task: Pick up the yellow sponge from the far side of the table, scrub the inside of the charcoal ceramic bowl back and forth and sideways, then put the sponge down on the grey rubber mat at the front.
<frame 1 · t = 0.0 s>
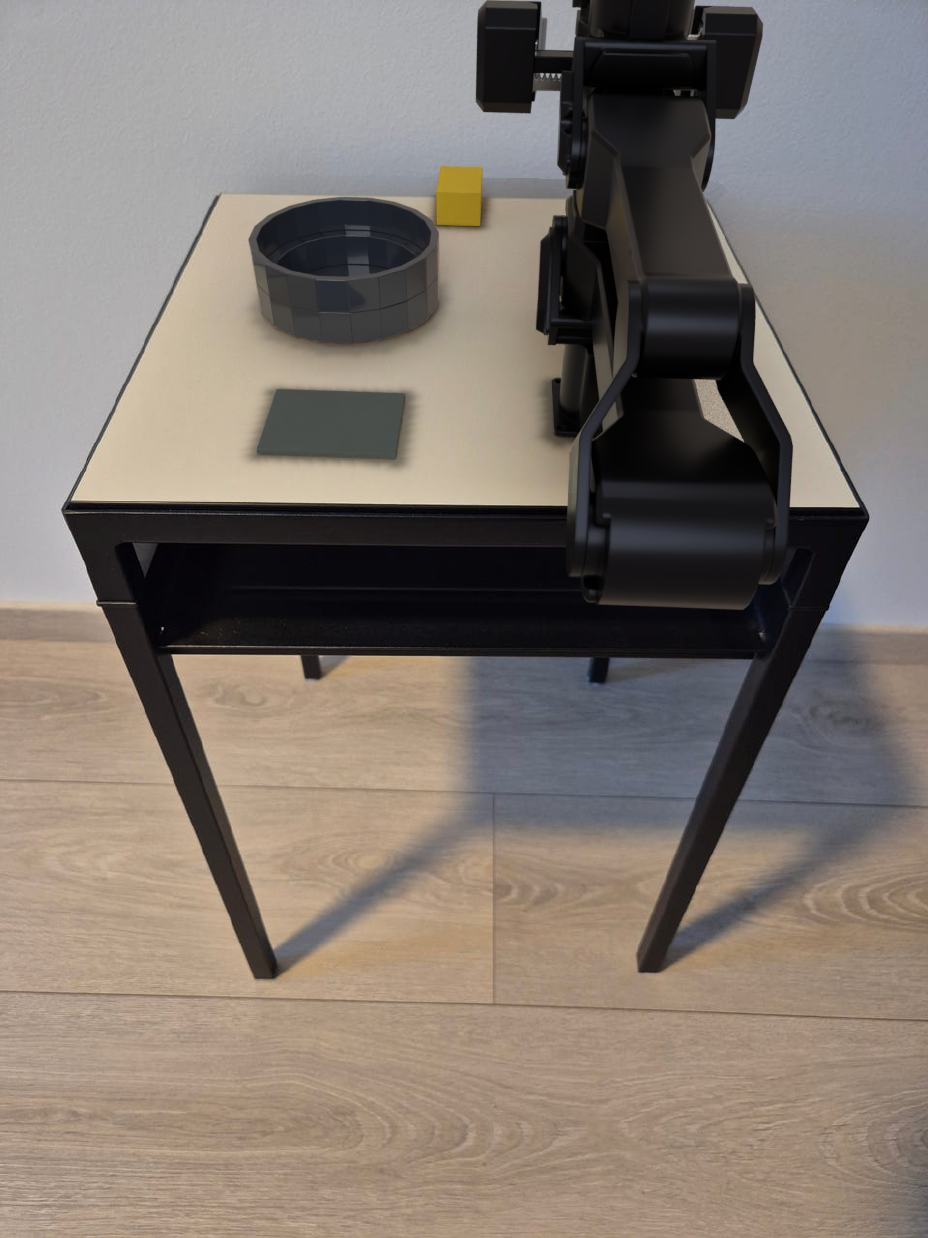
hand: (605, 27, 64), 17 cm above the table, tool horizontal, fingers open, 9 cm apart
bowl: (350, 303, 69), on the table
mat: (334, 424, 58), on the table
sponge: (459, 212, 81), on the table
white cup: (644, 238, 78), on the table
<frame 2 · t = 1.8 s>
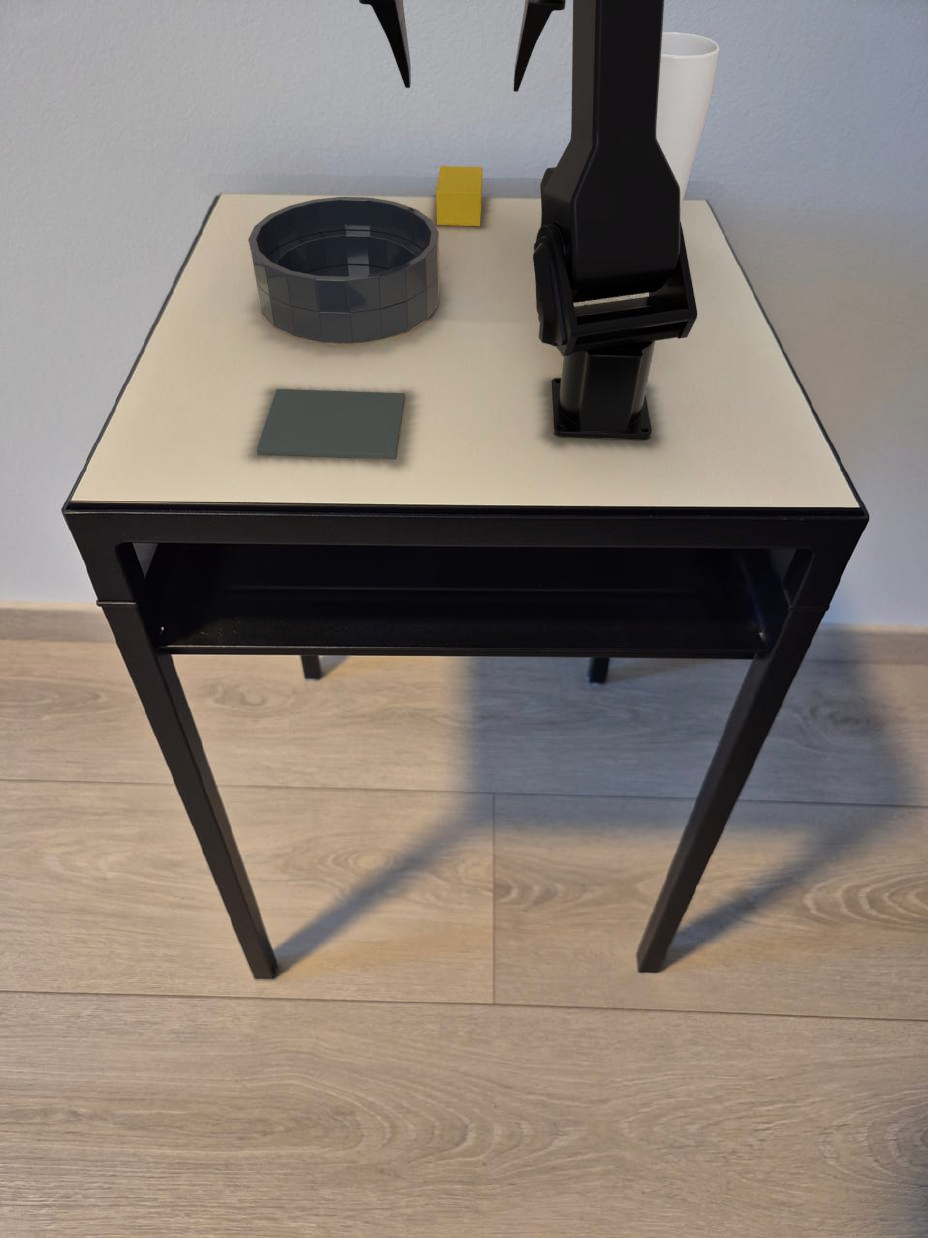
hand: (461, 88, 74), 10 cm above the table, tool pointing down, fingers open, 9 cm apart
nothing on the table moved.
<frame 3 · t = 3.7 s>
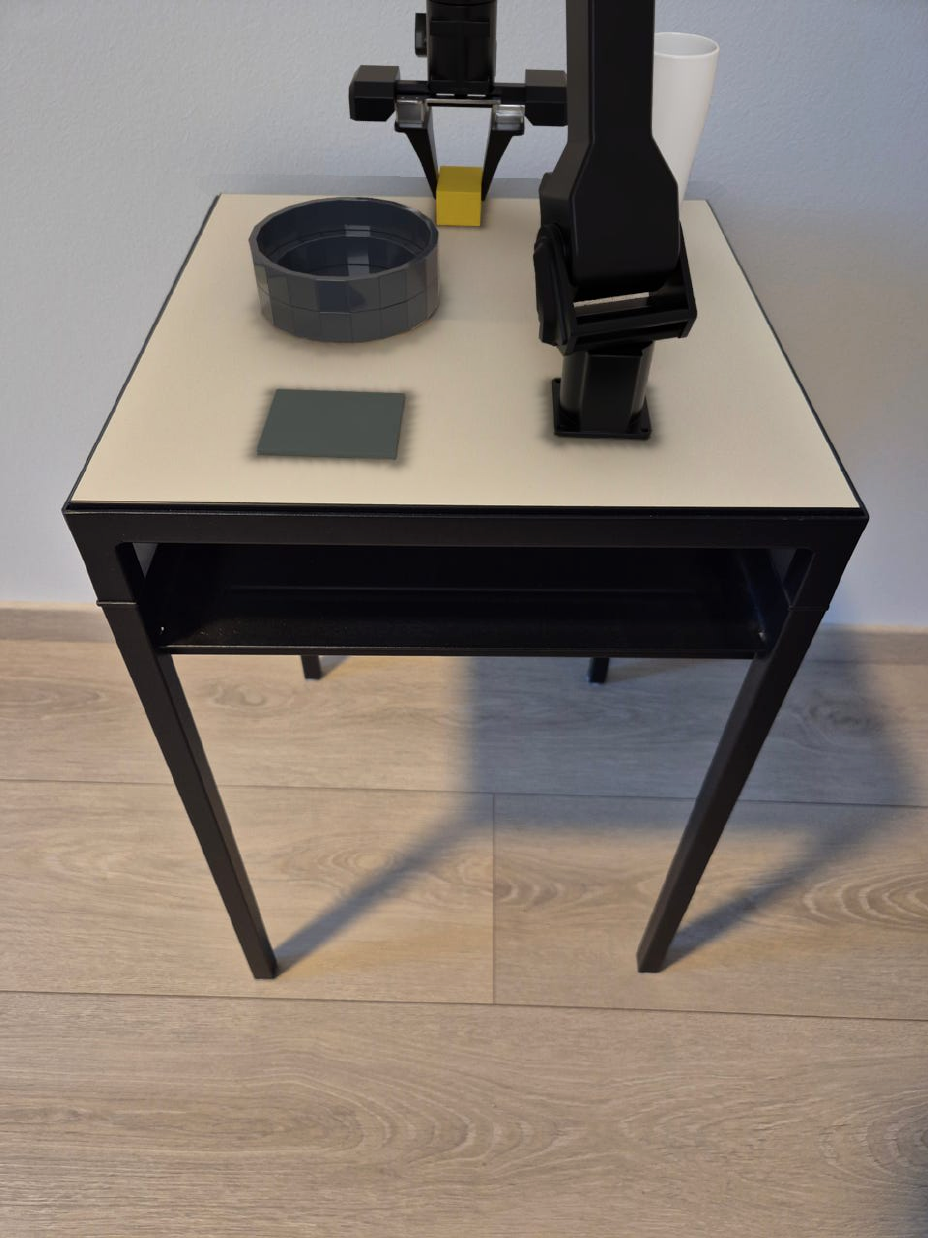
hand: (460, 198, 80), 1 cm above the table, tool pointing down, fingers closed on sponge, 4 cm apart
sponge: (459, 211, 81), on the table, touching gripper
everything else where it was.
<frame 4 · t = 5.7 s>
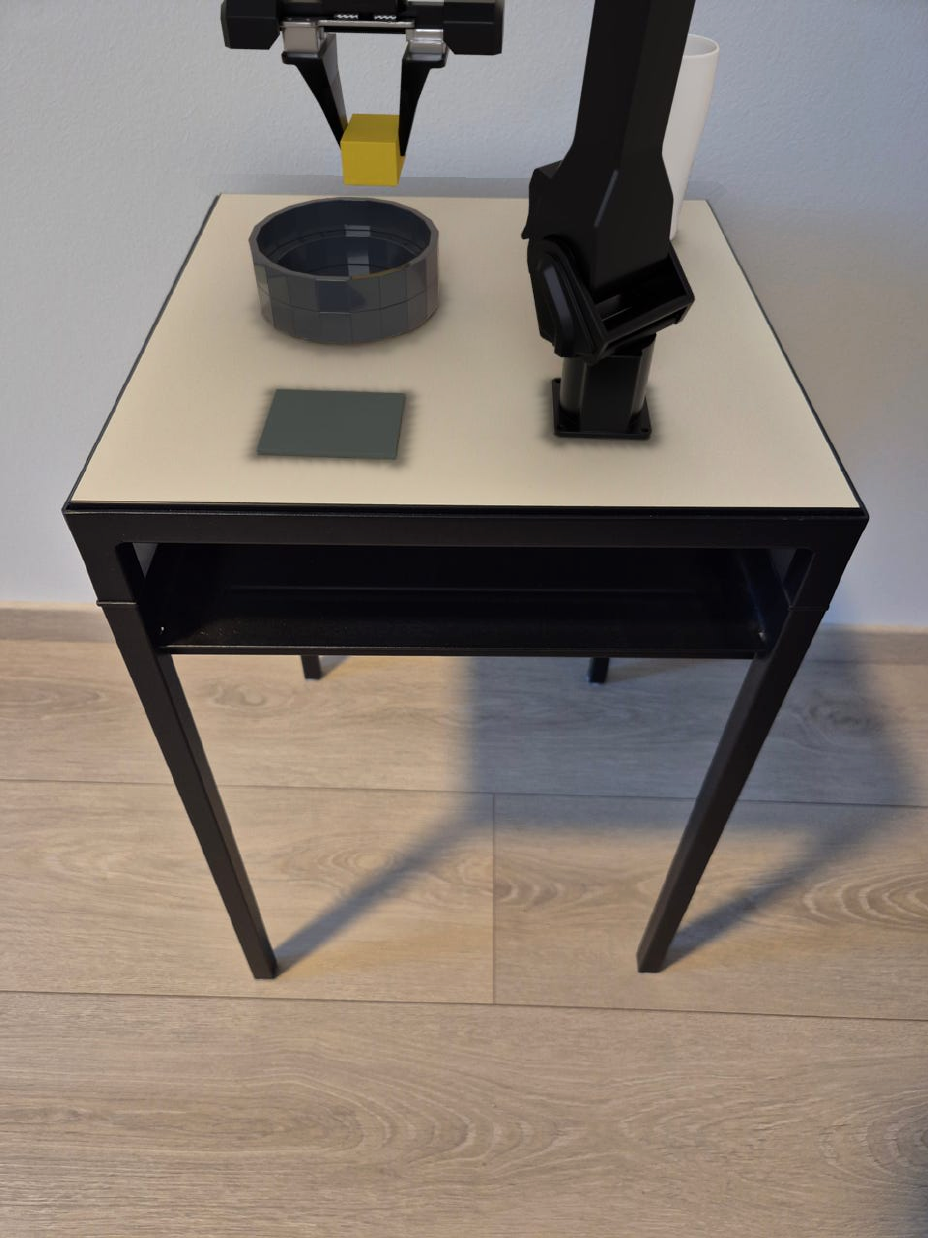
hand: (374, 153, 65), 10 cm above the table, tool pointing down, fingers closed on sponge, 4 cm apart
sponge: (375, 170, 66), point 9 cm above the table, touching gripper
everything else where it was.
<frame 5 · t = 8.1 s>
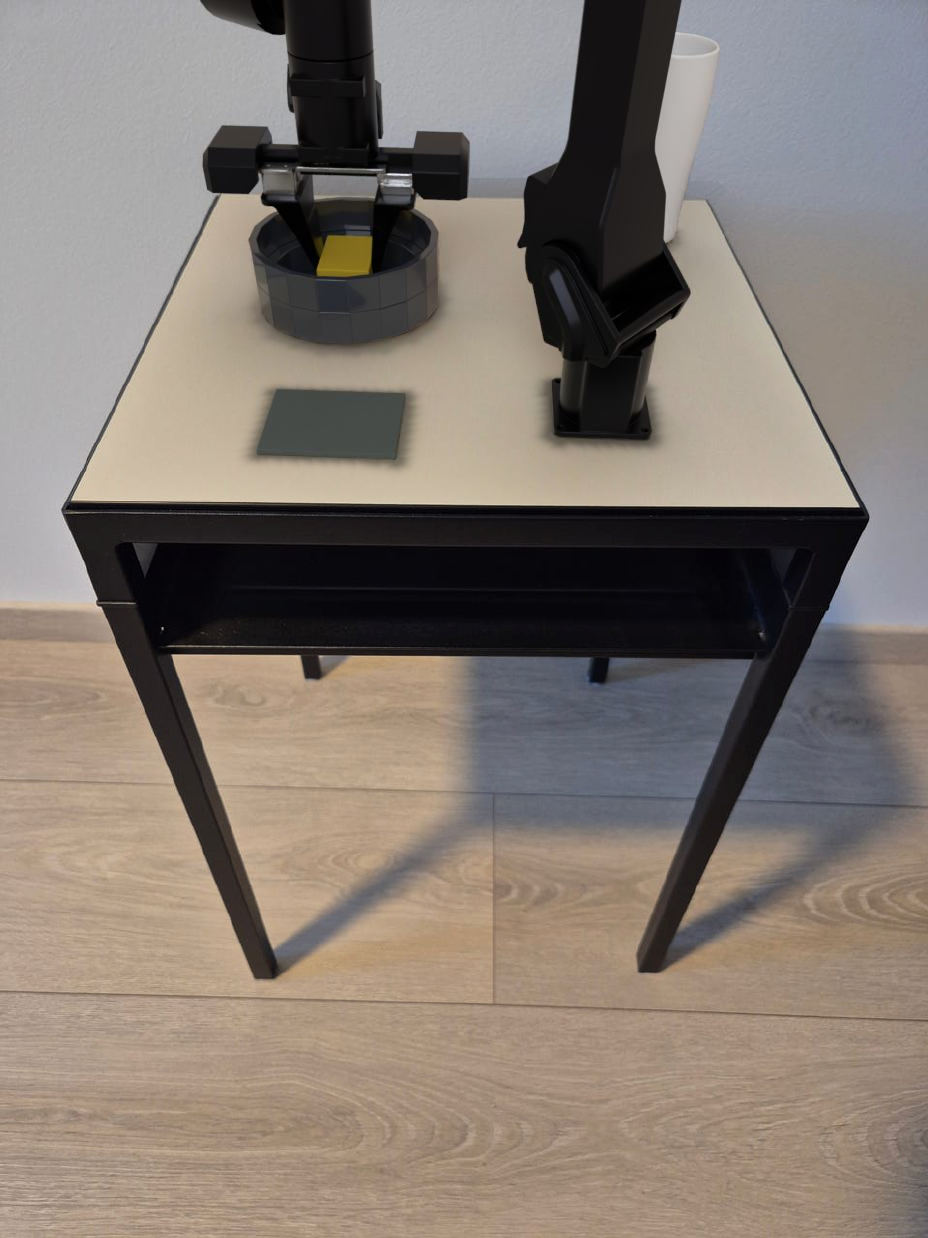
hand: (349, 276, 69), 2 cm above the table, tool pointing down, fingers closed on sponge, 4 cm apart
sponge: (350, 288, 70), point 1 cm above the table, touching bowl, gripper
everything else where it was.
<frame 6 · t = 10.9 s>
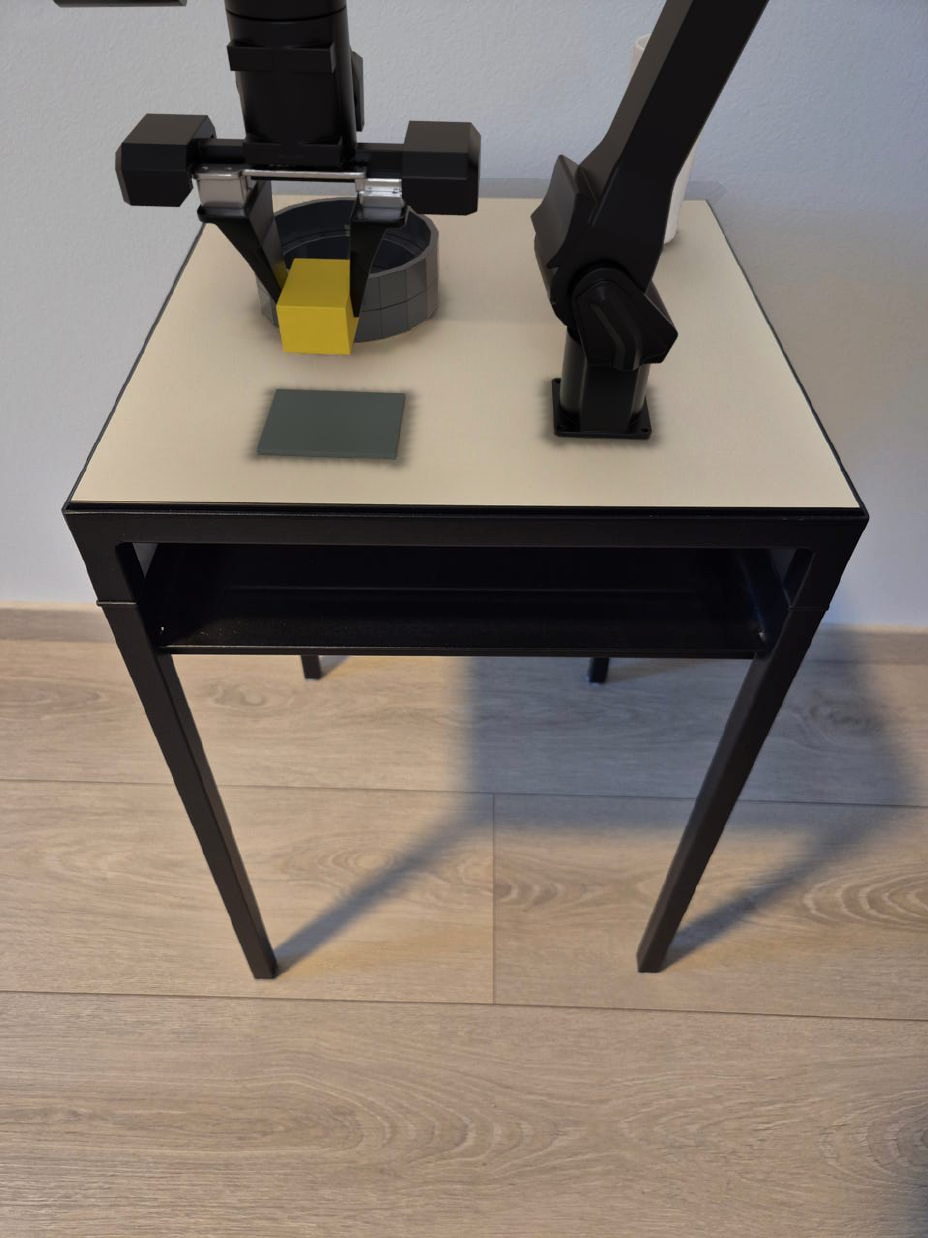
hand: (322, 312, 52), 8 cm above the table, tool pointing down, fingers closed on sponge, 4 cm apart
sponge: (324, 328, 53), point 7 cm above the table, touching gripper
everything else where it was.
when the fingers open (1 cm above the table, at t = 12.8 s): sponge stays where it is, resting on mat.
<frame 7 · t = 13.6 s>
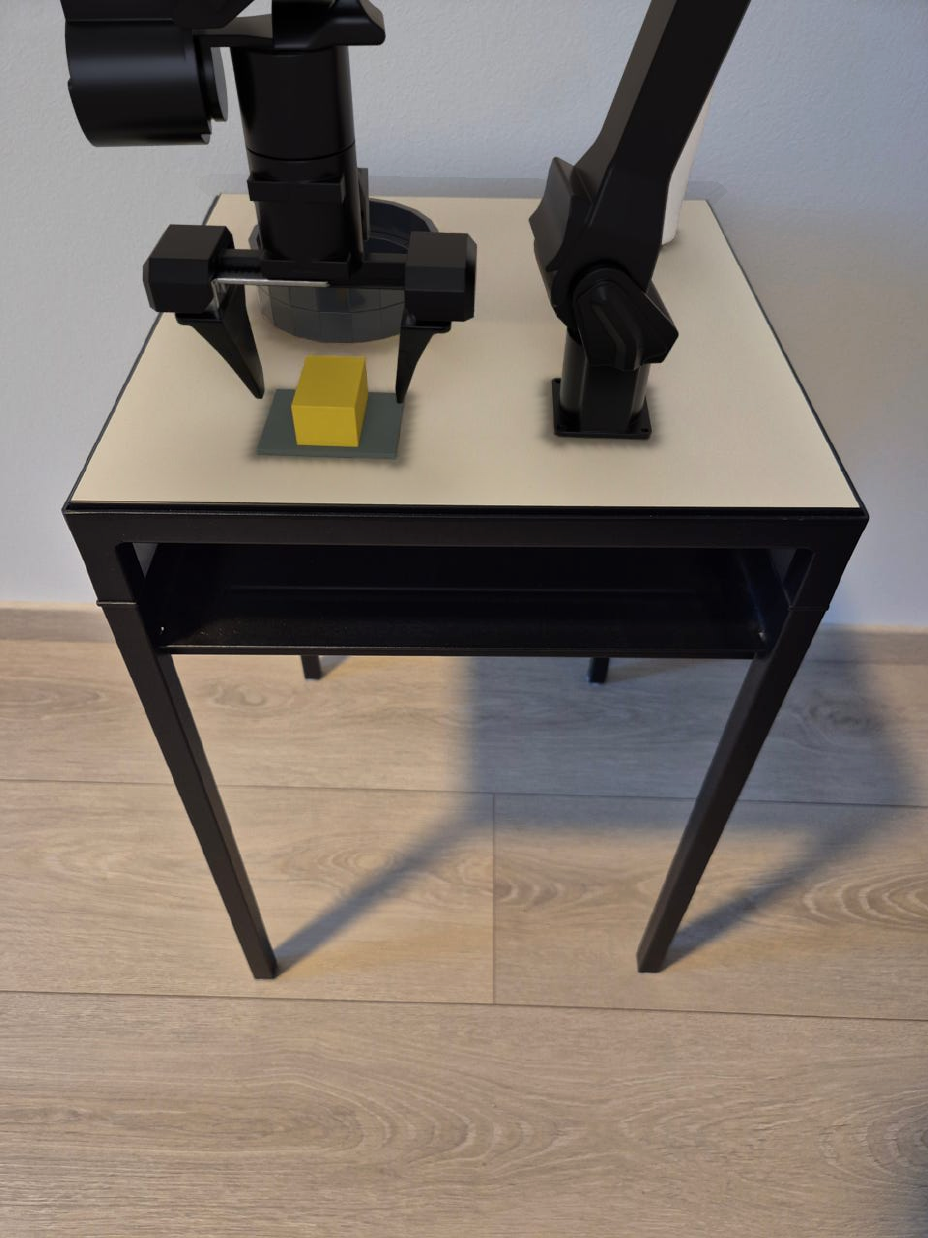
hand: (330, 397, 57), 2 cm above the table, tool pointing down, fingers open, 9 cm apart
sponge: (334, 419, 58), resting on mat
everything else where it was.
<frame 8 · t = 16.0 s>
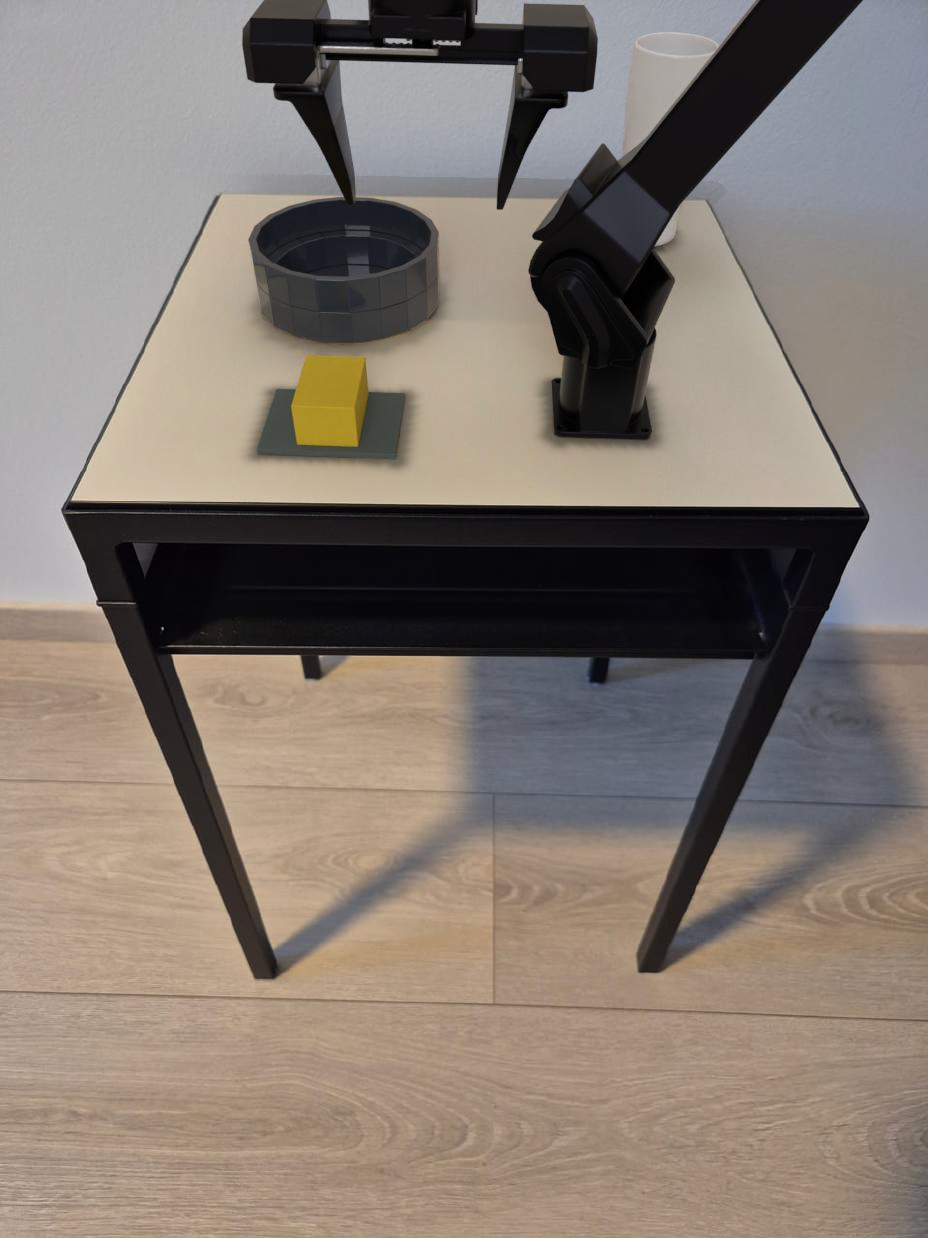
hand: (425, 204, 54), 12 cm above the table, tool pointing down, fingers open, 9 cm apart
nothing on the table moved.
at the end: sponge inside the target area on the mat (0.1 cm from its centre), point 0.4 cm above the mat's base; the gripper is holding nothing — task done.
